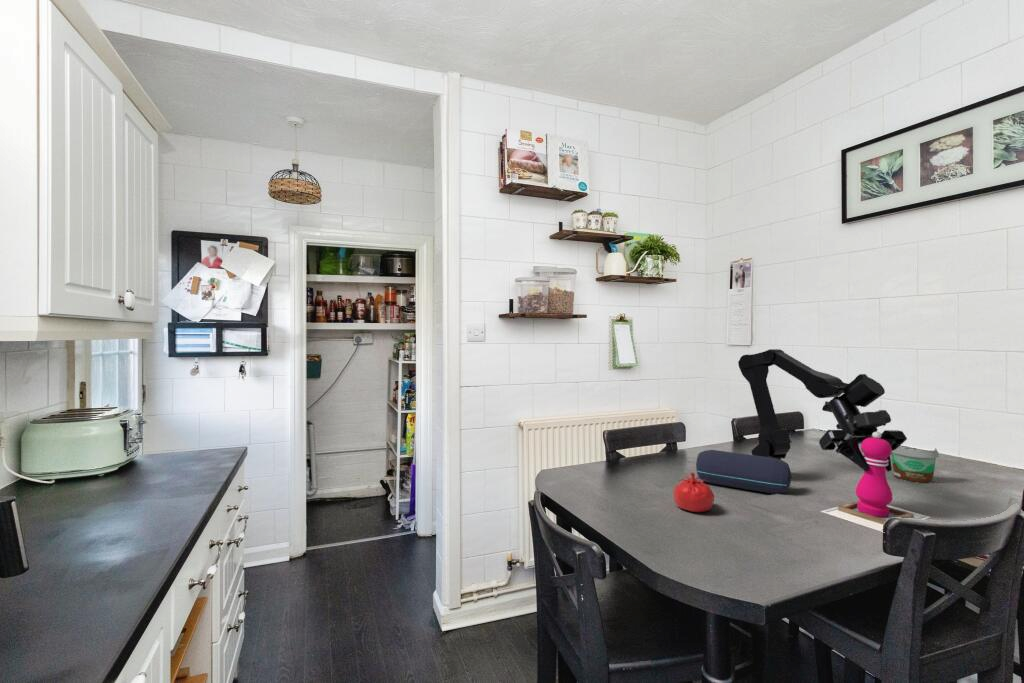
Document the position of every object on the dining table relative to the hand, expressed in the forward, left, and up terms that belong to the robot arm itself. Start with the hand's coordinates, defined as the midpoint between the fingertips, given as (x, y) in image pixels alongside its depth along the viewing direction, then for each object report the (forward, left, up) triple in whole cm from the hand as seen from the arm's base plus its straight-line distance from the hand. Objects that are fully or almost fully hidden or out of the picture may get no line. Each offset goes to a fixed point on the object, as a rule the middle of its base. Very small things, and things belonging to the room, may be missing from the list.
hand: (878, 470), depth 115 cm
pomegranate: (-37, -22, -12) cm, 44 cm away
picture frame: (-1, +1, -12) cm, 12 cm away
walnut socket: (-1, +1, -11) cm, 11 cm away
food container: (+6, +46, -12) cm, 48 cm away
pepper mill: (-1, +1, -11) cm, 11 cm away
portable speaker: (-32, +5, -12) cm, 35 cm away
